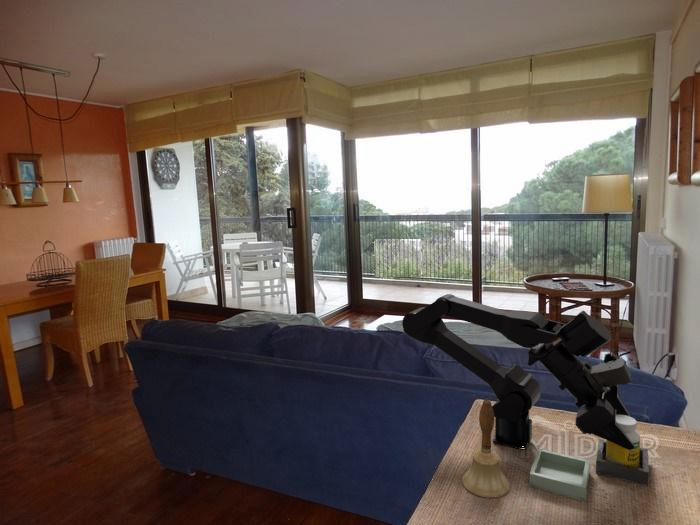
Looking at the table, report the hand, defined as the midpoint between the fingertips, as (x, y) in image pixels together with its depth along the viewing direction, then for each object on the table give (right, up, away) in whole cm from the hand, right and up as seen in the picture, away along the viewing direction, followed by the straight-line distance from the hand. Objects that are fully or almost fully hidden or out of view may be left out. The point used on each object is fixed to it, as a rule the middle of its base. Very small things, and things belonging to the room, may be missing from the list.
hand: (632, 436), depth 85 cm
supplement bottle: (-1, -7, +2) cm, 7 cm away
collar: (-1, -6, +2) cm, 7 cm away
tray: (-14, -7, -1) cm, 16 cm away
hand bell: (-27, -8, -1) cm, 28 cm away
